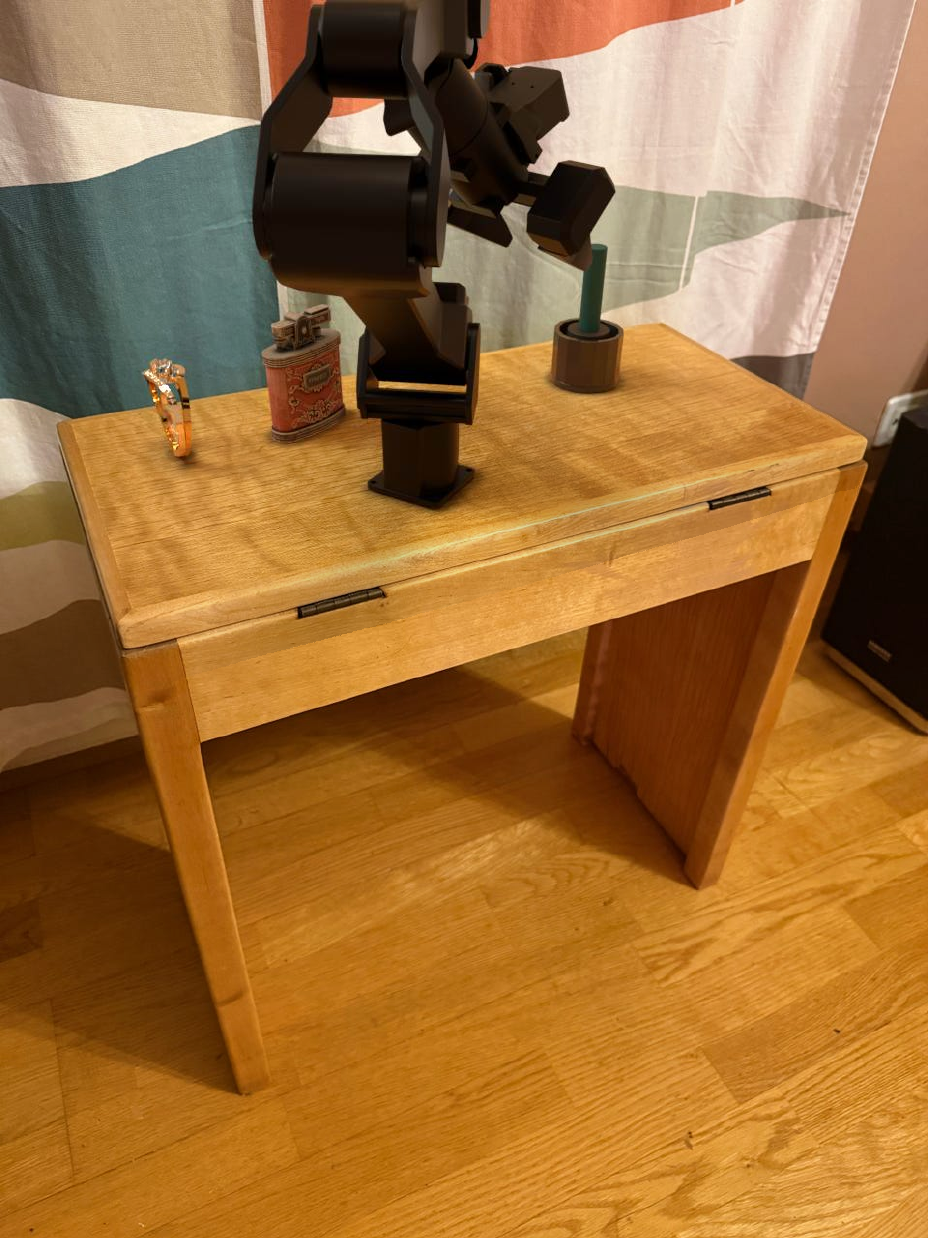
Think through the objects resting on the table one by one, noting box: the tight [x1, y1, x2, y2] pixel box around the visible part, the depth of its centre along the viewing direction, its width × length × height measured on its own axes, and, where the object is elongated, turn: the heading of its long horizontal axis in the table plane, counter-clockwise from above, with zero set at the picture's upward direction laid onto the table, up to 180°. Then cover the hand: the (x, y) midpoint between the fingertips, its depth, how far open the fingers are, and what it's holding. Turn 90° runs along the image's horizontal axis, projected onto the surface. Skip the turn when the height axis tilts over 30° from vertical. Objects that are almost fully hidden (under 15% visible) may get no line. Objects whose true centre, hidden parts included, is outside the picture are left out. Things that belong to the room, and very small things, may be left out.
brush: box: [567, 243, 610, 341], centre depth 86 cm, size 4×4×12 cm
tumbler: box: [550, 317, 625, 394], centre depth 88 cm, size 7×7×5 cm
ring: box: [141, 358, 192, 458], centre depth 74 cm, size 7×3×8 cm, turn 27°
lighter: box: [260, 303, 347, 444], centre depth 78 cm, size 8×3×10 cm, turn 143°
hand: (547, 254), depth 78 cm, fingers open, 9 cm apart
